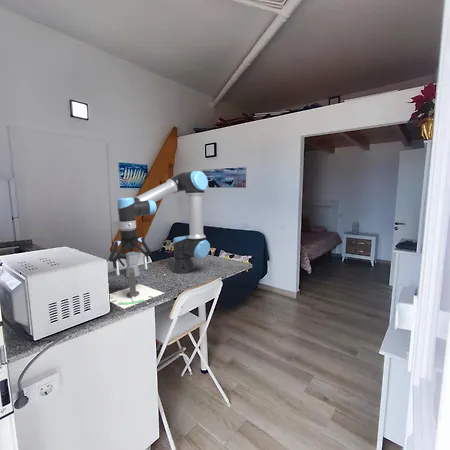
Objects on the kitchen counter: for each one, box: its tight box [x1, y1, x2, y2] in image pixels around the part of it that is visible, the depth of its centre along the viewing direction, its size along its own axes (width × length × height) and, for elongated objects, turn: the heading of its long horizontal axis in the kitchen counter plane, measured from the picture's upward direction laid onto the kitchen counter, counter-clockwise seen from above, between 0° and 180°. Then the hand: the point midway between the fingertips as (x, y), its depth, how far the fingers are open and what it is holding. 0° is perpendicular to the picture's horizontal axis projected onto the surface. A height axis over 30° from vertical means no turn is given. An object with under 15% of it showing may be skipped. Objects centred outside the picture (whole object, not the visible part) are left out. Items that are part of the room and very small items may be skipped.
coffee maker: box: [117, 248, 142, 278], centre depth 160 cm, size 15×9×18 cm, turn 131°
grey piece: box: [127, 267, 139, 302], centre depth 124 cm, size 14×6×13 cm, turn 22°
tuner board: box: [109, 283, 164, 310], centre depth 127 cm, size 22×22×2 cm
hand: (132, 271), depth 126 cm, fingers open, 13 cm apart
